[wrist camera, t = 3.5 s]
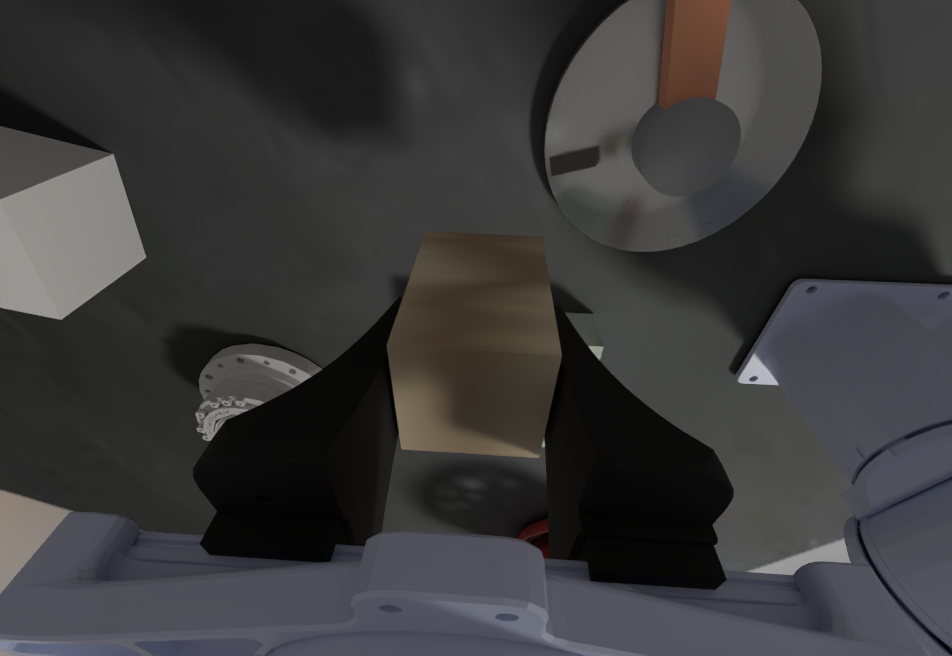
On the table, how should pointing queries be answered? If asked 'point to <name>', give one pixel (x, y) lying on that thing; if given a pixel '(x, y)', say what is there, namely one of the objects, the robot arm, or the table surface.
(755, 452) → the table surface
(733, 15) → the dial plate
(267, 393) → the mechanical component
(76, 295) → the light grey cube
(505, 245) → the brown block
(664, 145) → the crank
